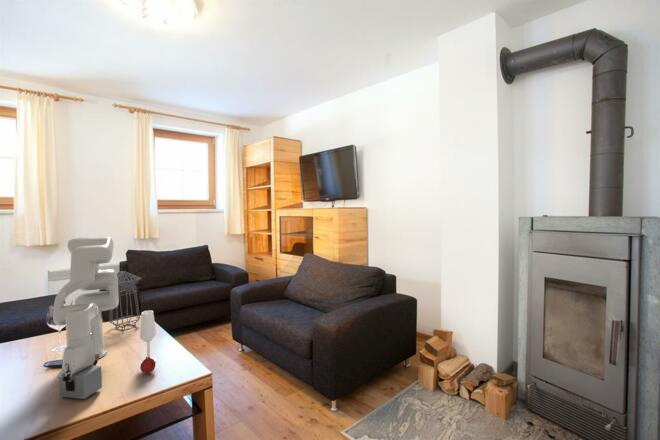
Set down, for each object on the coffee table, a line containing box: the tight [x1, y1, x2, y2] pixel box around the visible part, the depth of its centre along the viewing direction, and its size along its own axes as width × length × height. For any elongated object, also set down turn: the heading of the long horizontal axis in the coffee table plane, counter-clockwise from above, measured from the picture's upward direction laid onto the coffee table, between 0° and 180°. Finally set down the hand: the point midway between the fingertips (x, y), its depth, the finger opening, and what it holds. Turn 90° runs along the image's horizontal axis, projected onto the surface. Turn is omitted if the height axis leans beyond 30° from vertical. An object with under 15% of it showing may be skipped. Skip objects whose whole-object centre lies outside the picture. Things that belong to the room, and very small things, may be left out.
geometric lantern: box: [109, 270, 143, 332], centre depth 194 cm, size 16×16×35 cm
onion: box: [139, 356, 156, 375], centre depth 140 cm, size 6×6×8 cm
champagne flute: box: [139, 310, 158, 364], centre depth 151 cm, size 7×7×24 cm
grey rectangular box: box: [58, 365, 103, 400], centre depth 125 cm, size 11×8×9 cm
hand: (80, 384), depth 125 cm, fingers closed on grey rectangular box, 7 cm apart
